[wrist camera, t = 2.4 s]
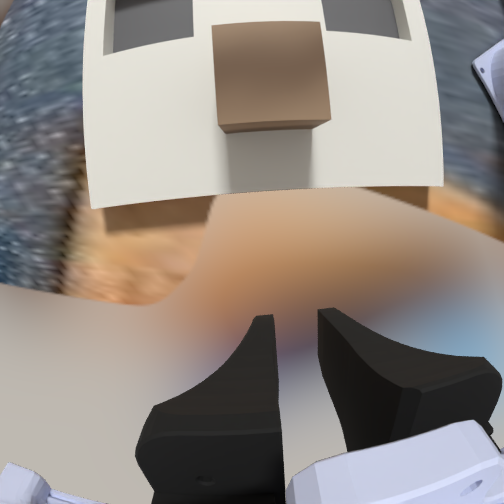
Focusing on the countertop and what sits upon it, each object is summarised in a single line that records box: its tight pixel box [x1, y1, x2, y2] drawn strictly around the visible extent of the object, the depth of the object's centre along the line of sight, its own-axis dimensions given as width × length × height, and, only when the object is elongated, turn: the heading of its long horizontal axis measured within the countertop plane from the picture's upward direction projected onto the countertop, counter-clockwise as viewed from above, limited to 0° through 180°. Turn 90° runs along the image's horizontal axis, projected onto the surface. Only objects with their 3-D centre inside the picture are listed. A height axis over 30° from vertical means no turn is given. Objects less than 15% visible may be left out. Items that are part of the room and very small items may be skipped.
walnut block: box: [211, 21, 331, 134], centre depth 15 cm, size 5×5×4 cm
